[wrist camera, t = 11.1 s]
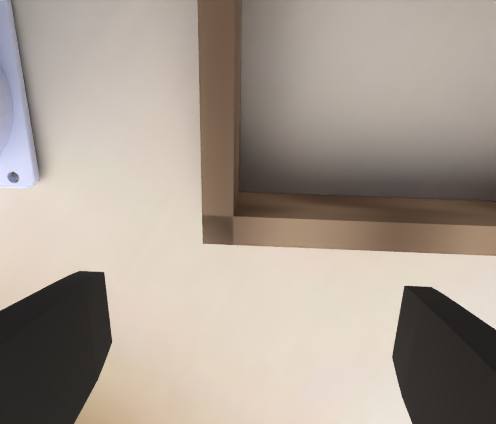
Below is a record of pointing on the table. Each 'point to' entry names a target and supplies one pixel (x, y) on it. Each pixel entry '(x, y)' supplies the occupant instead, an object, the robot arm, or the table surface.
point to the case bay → (305, 205)
